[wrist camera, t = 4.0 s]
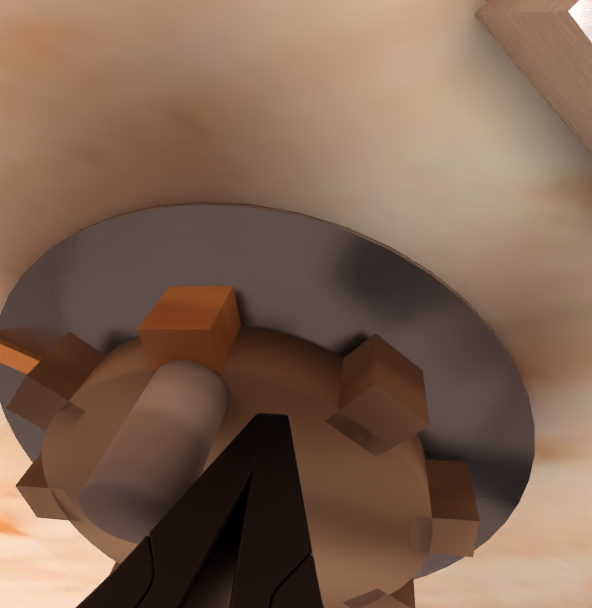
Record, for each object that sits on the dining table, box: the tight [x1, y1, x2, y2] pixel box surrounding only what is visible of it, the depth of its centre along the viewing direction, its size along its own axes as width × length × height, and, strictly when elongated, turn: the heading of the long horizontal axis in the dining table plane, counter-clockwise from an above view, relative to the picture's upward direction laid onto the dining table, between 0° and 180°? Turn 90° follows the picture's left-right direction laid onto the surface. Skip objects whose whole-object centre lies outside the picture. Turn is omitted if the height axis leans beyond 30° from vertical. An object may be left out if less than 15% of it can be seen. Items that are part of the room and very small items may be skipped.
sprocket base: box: [0, 202, 534, 580], centre depth 16 cm, size 19×19×1 cm
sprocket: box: [6, 286, 480, 608], centre depth 14 cm, size 15×15×5 cm
